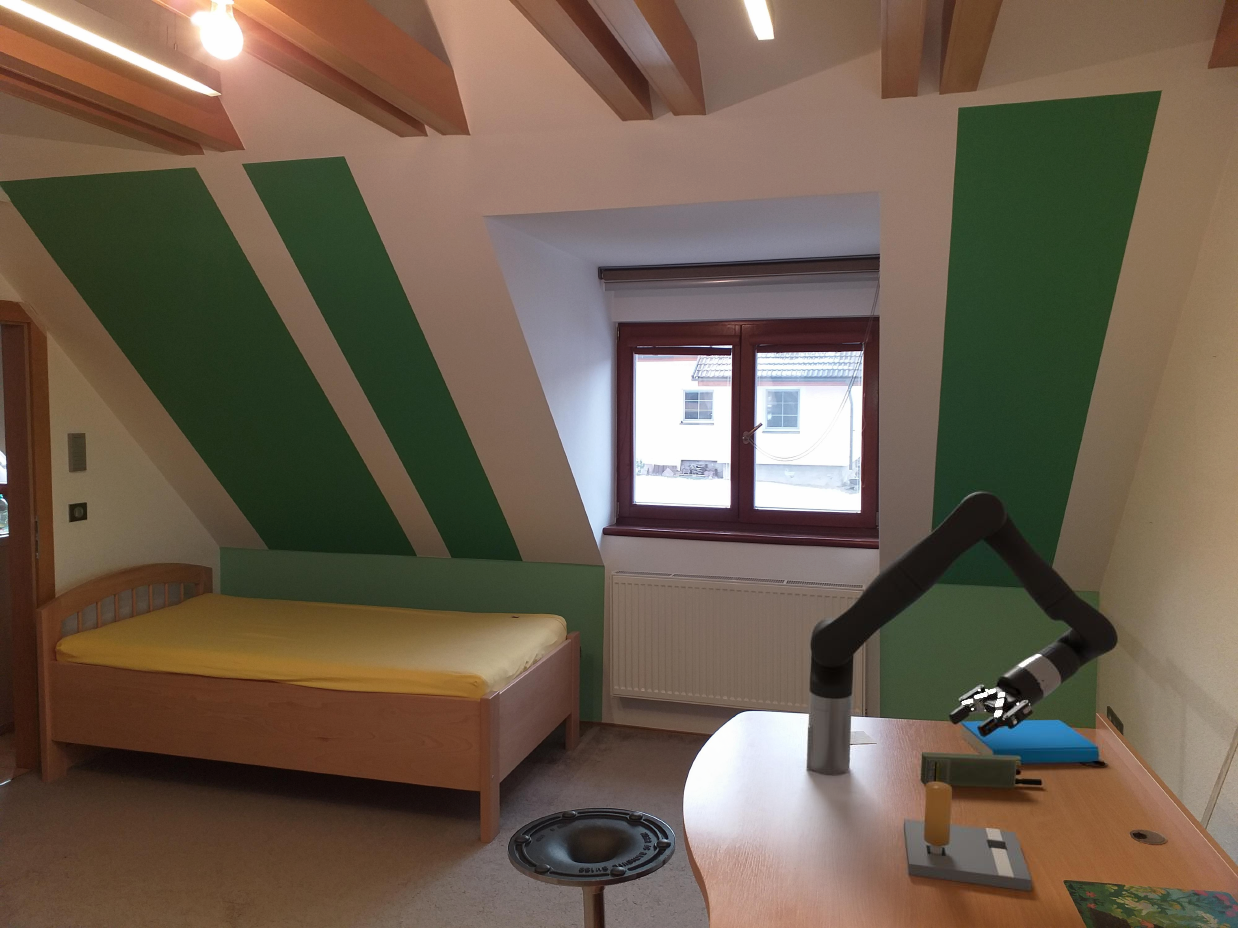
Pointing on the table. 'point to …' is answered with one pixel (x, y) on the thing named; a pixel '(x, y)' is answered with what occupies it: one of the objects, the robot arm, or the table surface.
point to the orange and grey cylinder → (937, 816)
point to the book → (1033, 742)
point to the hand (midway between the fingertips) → (965, 726)
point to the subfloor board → (969, 856)
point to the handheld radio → (973, 770)
